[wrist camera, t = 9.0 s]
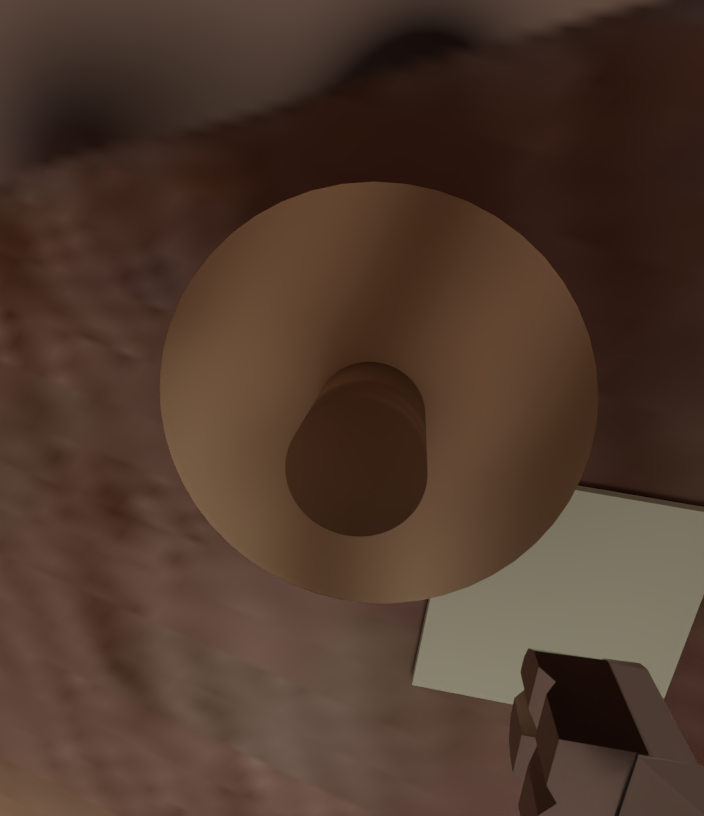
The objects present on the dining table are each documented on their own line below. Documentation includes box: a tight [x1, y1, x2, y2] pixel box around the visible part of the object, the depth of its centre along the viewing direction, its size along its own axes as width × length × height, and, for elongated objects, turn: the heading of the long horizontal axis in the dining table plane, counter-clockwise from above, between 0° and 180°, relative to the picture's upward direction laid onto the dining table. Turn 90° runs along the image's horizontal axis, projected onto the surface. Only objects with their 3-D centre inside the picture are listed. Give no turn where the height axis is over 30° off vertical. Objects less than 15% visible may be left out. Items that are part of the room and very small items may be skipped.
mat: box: [412, 486, 704, 704], centre depth 28 cm, size 12×12×1 cm
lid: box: [160, 182, 599, 603], centre depth 15 cm, size 12×12×5 cm
